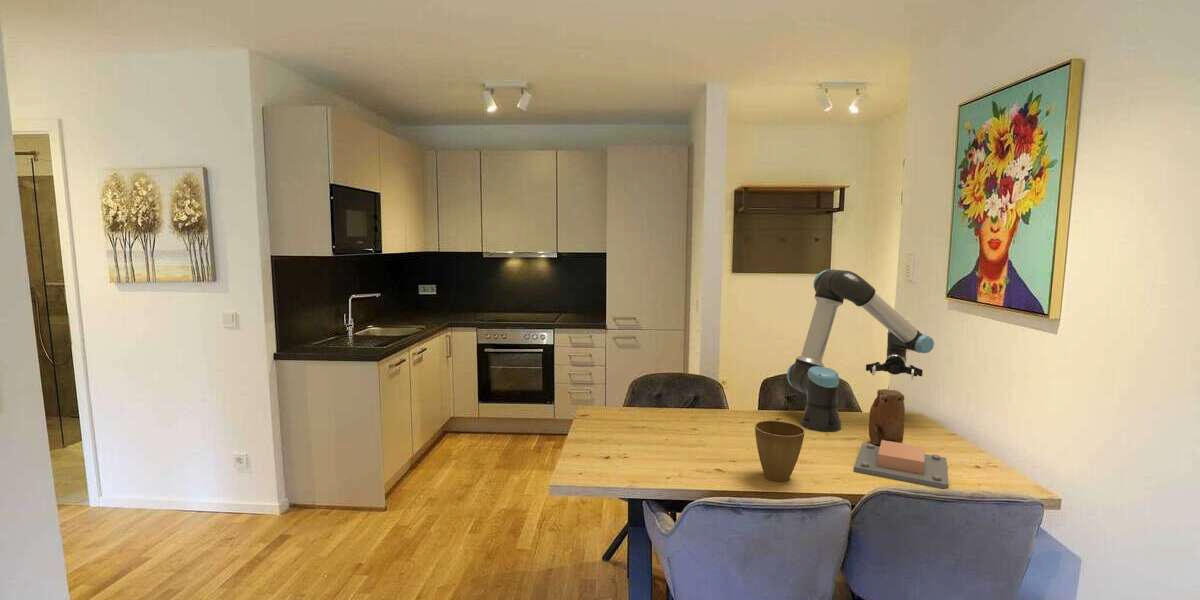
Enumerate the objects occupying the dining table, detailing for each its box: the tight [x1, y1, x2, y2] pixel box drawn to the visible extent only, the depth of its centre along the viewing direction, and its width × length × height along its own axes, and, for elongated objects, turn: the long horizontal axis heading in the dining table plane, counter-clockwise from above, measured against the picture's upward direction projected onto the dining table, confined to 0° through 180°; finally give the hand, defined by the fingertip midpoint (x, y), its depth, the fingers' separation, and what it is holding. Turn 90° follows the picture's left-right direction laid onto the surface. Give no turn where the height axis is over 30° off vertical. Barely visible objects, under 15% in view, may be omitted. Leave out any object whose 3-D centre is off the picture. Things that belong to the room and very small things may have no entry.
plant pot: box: [754, 420, 806, 483], centre depth 174 cm, size 15×15×16 cm
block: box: [868, 388, 906, 446], centre depth 206 cm, size 11×8×20 cm
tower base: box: [853, 440, 950, 489], centre depth 184 cm, size 26×26×6 cm
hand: (892, 373), depth 218 cm, fingers open, 13 cm apart
